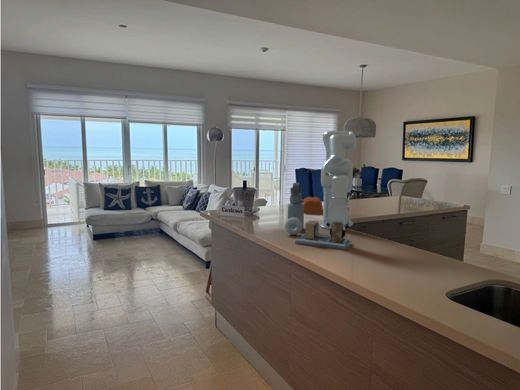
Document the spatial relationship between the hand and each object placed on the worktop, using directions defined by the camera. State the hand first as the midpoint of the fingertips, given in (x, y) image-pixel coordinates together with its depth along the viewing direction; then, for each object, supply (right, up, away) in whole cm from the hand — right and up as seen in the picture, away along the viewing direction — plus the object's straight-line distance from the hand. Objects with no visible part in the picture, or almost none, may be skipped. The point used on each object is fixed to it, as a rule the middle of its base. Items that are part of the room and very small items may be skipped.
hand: (337, 236), depth 176 cm
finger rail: (-6, -4, +3) cm, 8 cm away
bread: (+2, +7, +99) cm, 100 cm away
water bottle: (-17, 0, +37) cm, 41 cm away
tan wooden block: (0, -2, 0) cm, 2 cm away
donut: (-20, -2, +22) cm, 30 cm away
